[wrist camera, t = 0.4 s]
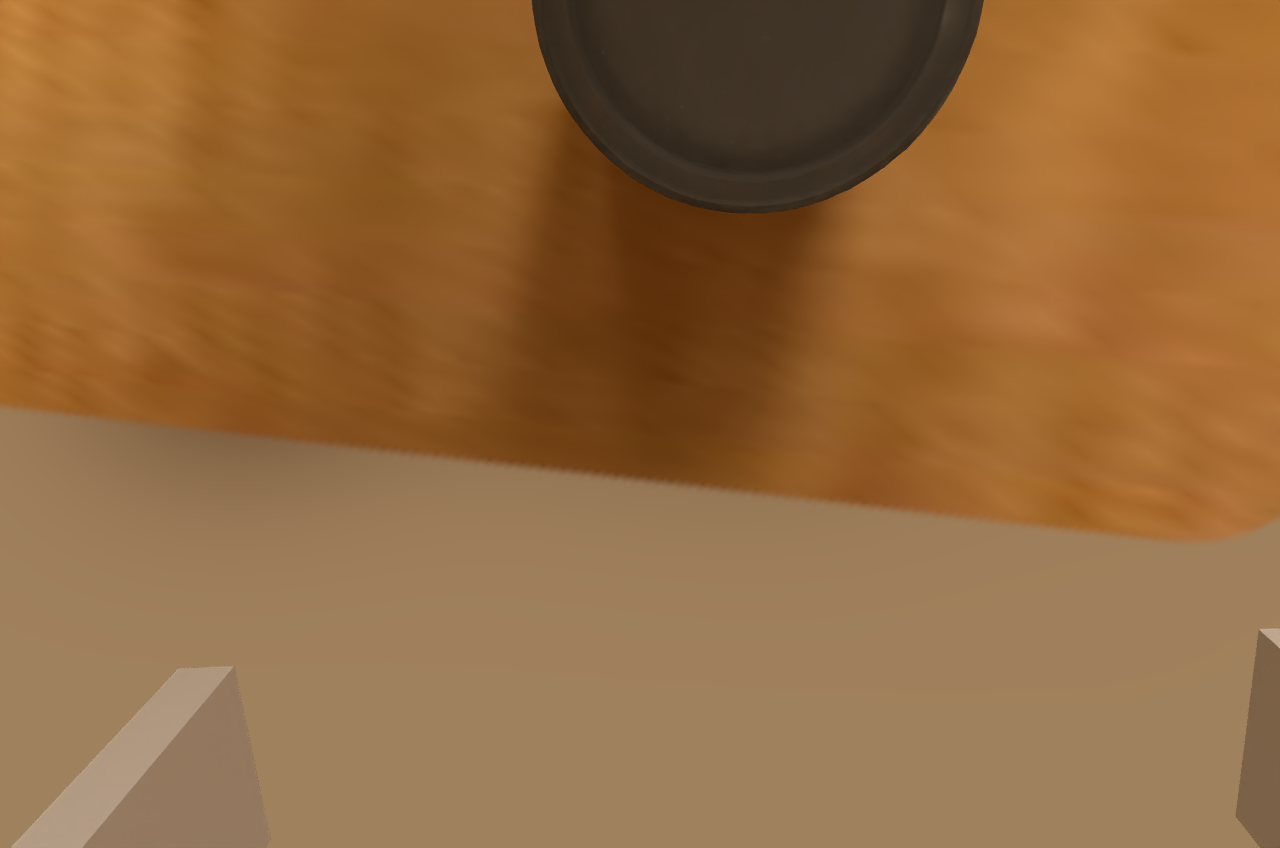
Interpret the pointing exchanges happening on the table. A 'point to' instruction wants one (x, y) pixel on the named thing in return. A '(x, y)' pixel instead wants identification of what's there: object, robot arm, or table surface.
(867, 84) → the coffee can
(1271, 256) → the table surface
